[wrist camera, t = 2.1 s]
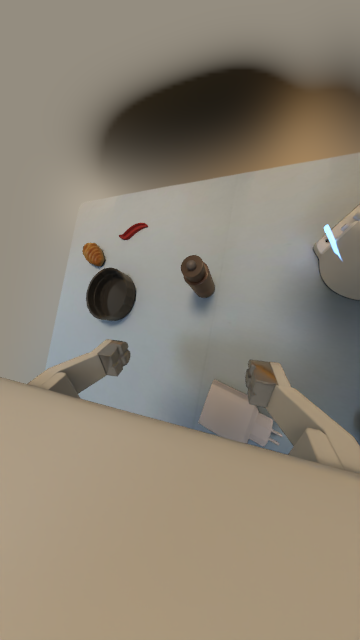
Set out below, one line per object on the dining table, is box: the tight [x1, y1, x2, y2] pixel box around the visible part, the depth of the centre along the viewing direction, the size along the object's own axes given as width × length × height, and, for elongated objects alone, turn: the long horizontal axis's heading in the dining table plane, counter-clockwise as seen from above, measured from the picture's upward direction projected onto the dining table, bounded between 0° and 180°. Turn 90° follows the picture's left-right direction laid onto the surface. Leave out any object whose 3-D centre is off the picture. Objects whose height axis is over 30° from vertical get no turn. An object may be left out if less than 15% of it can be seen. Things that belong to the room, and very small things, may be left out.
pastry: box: [82, 243, 105, 266], centre depth 52 cm, size 9×7×4 cm
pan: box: [86, 268, 135, 321], centre depth 47 cm, size 16×16×4 cm
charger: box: [198, 379, 282, 447], centre depth 30 cm, size 5×9×15 cm
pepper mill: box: [181, 255, 215, 298], centre depth 32 cm, size 5×5×14 cm
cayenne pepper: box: [119, 223, 148, 240], centre depth 49 cm, size 12×5×2 cm, turn 86°
